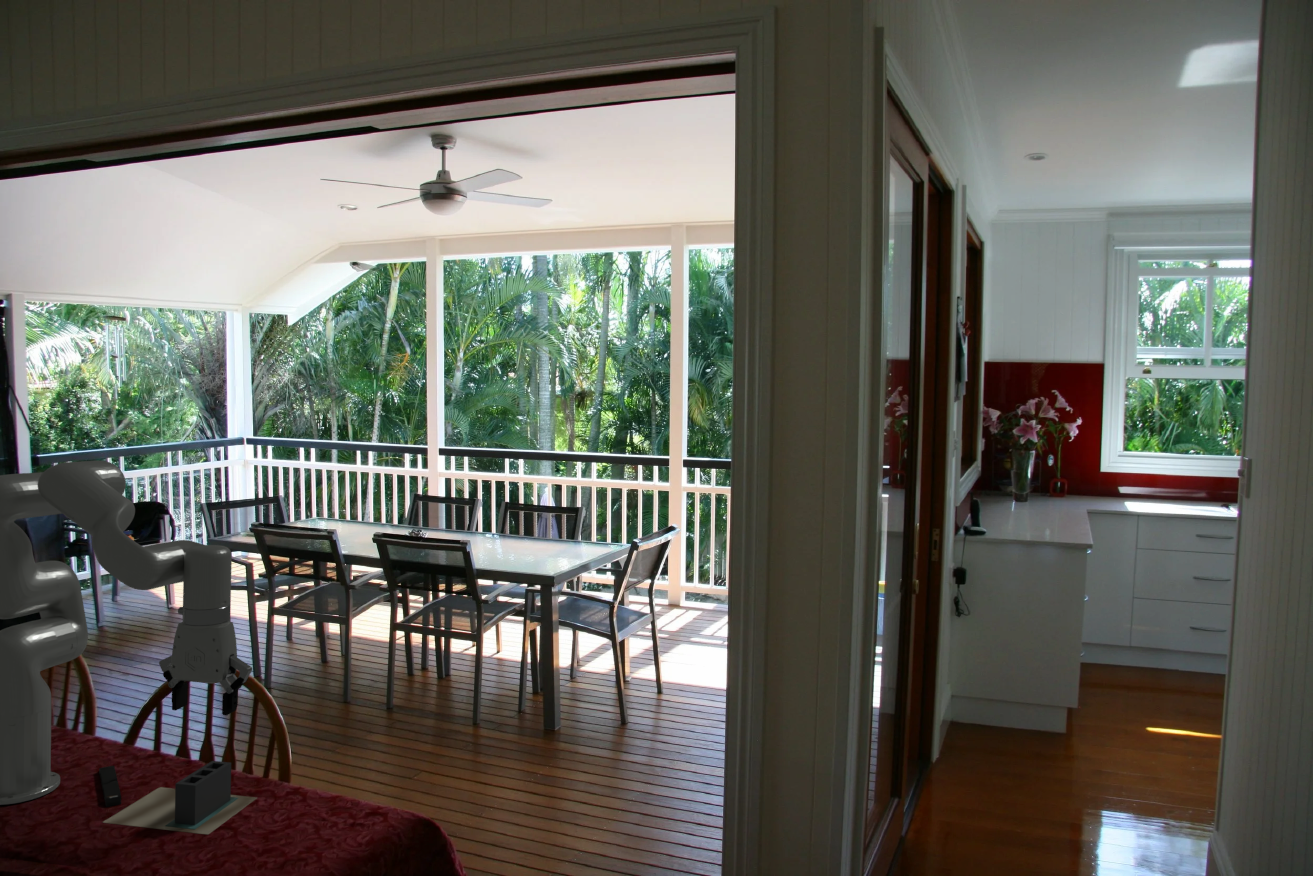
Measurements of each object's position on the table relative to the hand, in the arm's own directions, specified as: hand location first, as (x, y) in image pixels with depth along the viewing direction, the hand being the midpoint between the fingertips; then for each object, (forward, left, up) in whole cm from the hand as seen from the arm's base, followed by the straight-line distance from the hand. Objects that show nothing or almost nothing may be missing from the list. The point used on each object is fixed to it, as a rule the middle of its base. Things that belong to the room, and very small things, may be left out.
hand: (204, 710), depth 152 cm
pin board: (-4, 0, -20) cm, 20 cm away
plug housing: (0, 0, -18) cm, 18 cm away
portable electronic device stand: (-23, +5, -21) cm, 31 cm away
